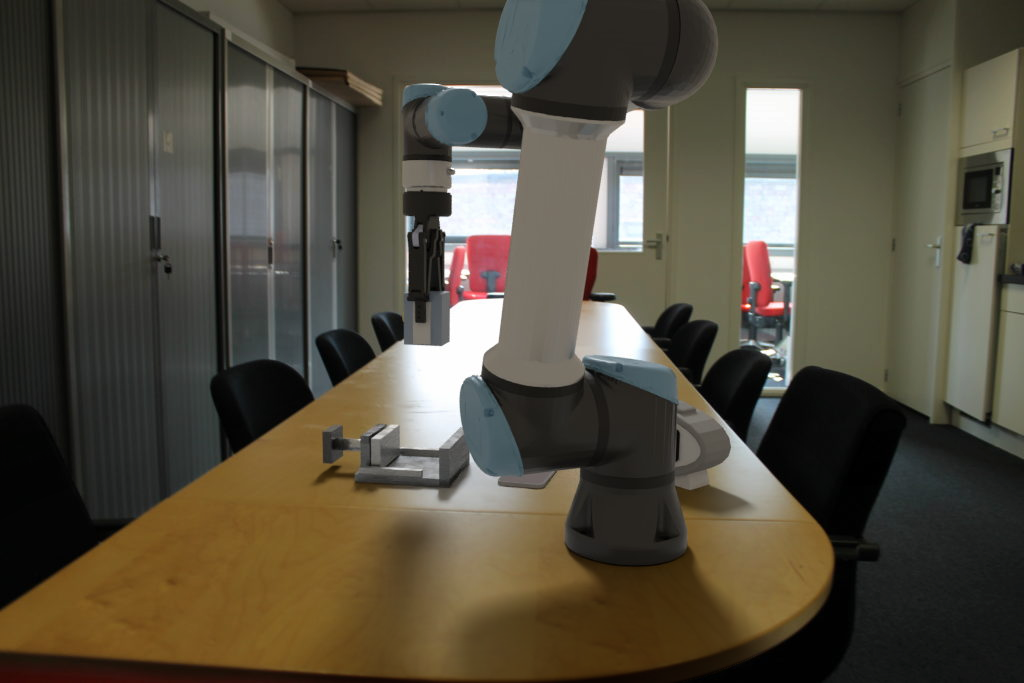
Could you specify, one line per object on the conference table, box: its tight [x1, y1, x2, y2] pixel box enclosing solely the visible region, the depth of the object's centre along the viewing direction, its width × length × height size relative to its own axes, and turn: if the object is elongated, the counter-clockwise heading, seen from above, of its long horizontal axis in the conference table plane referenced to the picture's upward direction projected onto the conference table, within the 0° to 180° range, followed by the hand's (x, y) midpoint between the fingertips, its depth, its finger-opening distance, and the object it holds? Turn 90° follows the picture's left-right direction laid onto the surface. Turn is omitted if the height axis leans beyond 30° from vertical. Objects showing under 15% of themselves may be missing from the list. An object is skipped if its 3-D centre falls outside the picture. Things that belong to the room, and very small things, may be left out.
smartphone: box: [497, 471, 557, 489], centre depth 134 cm, size 7×1×15 cm
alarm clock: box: [675, 398, 732, 491], centre depth 133 cm, size 23×6×13 cm, turn 40°
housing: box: [401, 290, 451, 347], centre depth 130 cm, size 5×7×8 cm
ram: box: [321, 423, 401, 467], centre depth 135 cm, size 10×10×5 cm
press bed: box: [354, 423, 471, 488], centre depth 134 cm, size 14×15×7 cm
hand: (427, 340), depth 131 cm, fingers closed on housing, 5 cm apart
